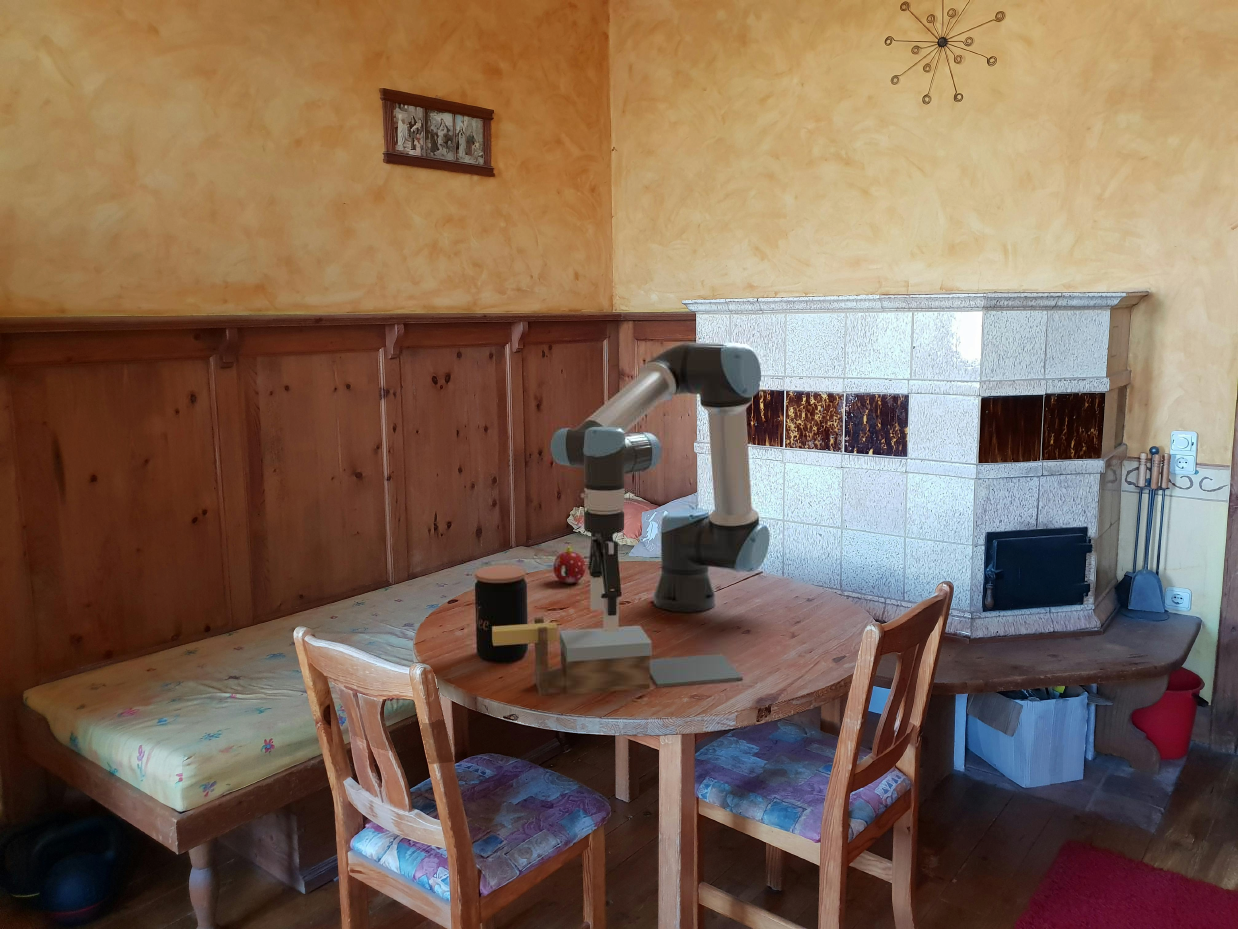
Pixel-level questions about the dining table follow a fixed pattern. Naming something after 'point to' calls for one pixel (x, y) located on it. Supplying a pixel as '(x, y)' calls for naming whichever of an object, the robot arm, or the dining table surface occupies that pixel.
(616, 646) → the lid
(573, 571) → the christmas ornament
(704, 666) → the mat
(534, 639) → the yellow block
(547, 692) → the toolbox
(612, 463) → the robot arm
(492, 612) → the coffee jar
